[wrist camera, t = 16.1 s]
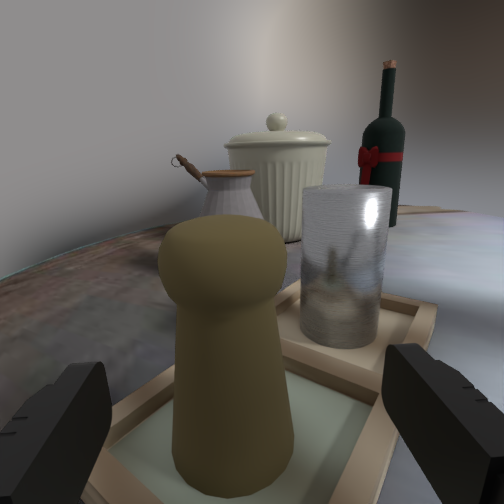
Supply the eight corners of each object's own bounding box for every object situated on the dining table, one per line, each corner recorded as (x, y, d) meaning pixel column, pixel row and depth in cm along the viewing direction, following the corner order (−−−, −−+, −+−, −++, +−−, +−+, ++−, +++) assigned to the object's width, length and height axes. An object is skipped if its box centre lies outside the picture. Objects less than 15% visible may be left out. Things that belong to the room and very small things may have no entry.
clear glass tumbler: (318, 303, 29) (323, 183, 26) (386, 321, 26) (401, 186, 23) (286, 333, 25) (287, 191, 21) (363, 359, 21) (378, 195, 18)
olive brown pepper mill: (154, 498, 13) (111, 239, 10) (186, 392, 19) (167, 207, 15) (302, 499, 13) (309, 235, 9) (289, 391, 19) (290, 204, 15)
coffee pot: (295, 273, 40) (297, 150, 36) (216, 298, 34) (206, 152, 30) (214, 240, 57) (209, 153, 53) (151, 252, 51) (139, 155, 46)
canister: (349, 238, 55) (357, 108, 49) (262, 257, 47) (259, 101, 40) (286, 222, 70) (287, 120, 64) (212, 234, 62) (204, 117, 55)
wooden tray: (304, 294, 34) (304, 275, 33) (434, 327, 27) (438, 304, 26) (65, 480, 15) (56, 445, 14) (294, 753, 8) (295, 709, 7)
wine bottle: (340, 225, 66) (350, 62, 57) (369, 218, 71) (382, 69, 63) (374, 231, 60) (391, 50, 51) (403, 223, 65) (422, 59, 56)
